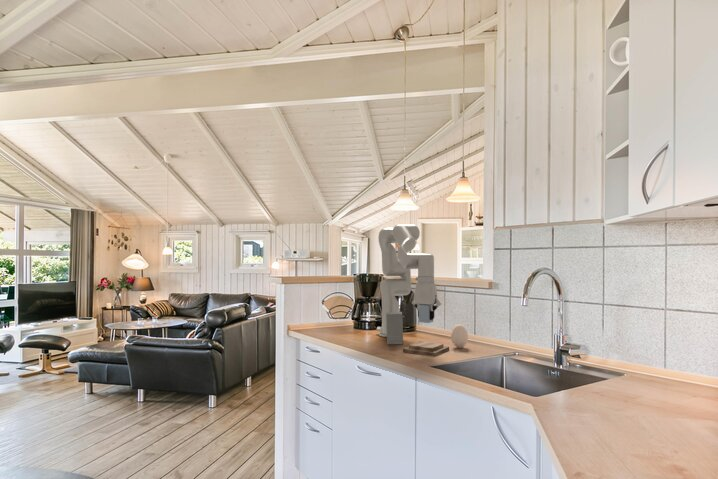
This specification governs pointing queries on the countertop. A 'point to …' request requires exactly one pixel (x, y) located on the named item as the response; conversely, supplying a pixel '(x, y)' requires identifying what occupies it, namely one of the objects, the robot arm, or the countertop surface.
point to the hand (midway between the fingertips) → (426, 318)
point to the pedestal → (426, 348)
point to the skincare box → (394, 327)
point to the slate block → (424, 313)
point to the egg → (459, 336)
